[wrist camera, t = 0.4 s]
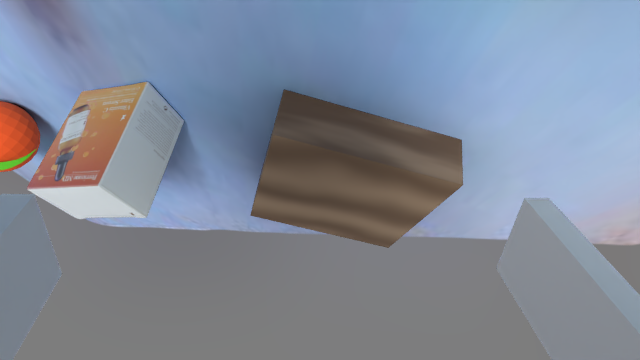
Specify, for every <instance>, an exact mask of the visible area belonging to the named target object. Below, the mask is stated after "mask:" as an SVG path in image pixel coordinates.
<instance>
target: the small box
mask: <svg viewBox="0 0 640 360" xmlns="http://www.w3.org/2000/svg"><path fill="white" fill-rule="evenodd" d="M183 123H184V120H183V119H182V118H181V117H180V116H179V115H178V113H177V112H176V111H175V110H174V109H173V108H172V107H171V106H170V105H169V104H168V103H167V102H166V100H165V99H164V98H163V97H162V96H161V95H160V94H159V93H158V92H157V91H156V90H155V89H154V88H153V86H152V85H151V84H150V83H149V82H143V83H138V84H133V85H126V86H119V87H112V88H105V89H97V90H87V91H83V92H81V94H80V96H79V97H78V99H77V101H76V103H75V105H74V106H73V108H72V110H71V111H70V113H69V115H68V117H67V118H66V120H65V122H64V124H63V125H62V127H61V129H60V131H59V132H58V134H57V136H56V138H55V140H54V141H53V143H52V145H51V146H50V148H49V150H48V152H47V153H46V155H45V157H44V159H43V160H42V162H41V164H40V166H39V167H38V169H37V171H36V173H35V174H34V176H33V178H32V180H31V181H30V183H29V185H28V187H27V189H28V190H29V191H31V192H32V193H34V194H35V195H37V196H39V197H41V198H43V199H44V200H46V201H48V202H49V203H51V204H53V205H55V206H56V207H58V208H60V209H61V210H63V211H65V212H67V213H68V214H70V215H72V216H73V217H75V218H77V219H85V218H103V217H137V218H146V217H147V215H148V213H149V210H150V208H151V205H152V203H153V200H154V198H155V195H156V192H157V190H158V187H159V185H160V182H161V180H162V177H163V175H164V172H165V169H166V167H167V164H168V162H169V159H170V157H171V154H172V152H173V149H174V146H175V144H176V141H177V139H178V136H179V133H180V131H181V128H182V126H183Z"/></svg>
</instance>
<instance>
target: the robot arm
mask: <svg viewBox="0 0 640 360" xmlns="http://www.w3.org/2000/svg"><path fill="white" fill-rule="evenodd" d="M496 269H497V270H498V272H499V274H500V275H501V277H502V279H503V280H504V282H505V284H506V285H507V287H508V289H509V290H510V292H511V294H512V295H513V297H514V299H515V300H516V302H517V303H518V305H519V307H520V308H521V310H522V312H523V313H524V315H525V317H526V318H527V320H528V321H529V323H530V325H531V326H532V328H533V330H534V331H535V333H536V335H537V336H538V338H539V340H540V341H541V343H542V345H543V346H544V348H545V349H546V351H547V353H548V355H549V356H550V357H551V359H552V360H640V295H639V294H638V293H637V292H636V291H635V290H634V289H633V288H632V287H631V285H630V284H629V283H628V282H627V281H626V280H625V279H624V278H623V277H622V276H621V275H620V274H619V273H618V272H617V270H616V269H615V268H614V267H613V266H612V265H611V264H610V263H609V262H608V261H607V260H606V259H605V258H604V257H603V256H602V254H601V253H600V252H599V251H598V250H597V249H596V248H595V247H594V246H593V245H592V244H591V243H590V242H589V240H588V239H587V238H586V237H585V236H584V235H583V234H582V233H581V232H580V231H579V230H578V229H577V228H576V226H575V225H574V224H573V223H572V222H571V221H570V220H569V219H568V218H567V217H566V216H565V215H564V214H563V213H562V211H561V210H560V209H559V208H558V207H557V206H556V205H555V204H554V203H553V202H552V201H551V200H550V199H549V198H524V201H523V203H522V206H521V208H520V211H519V213H518V215H517V218H516V220H515V223H514V225H513V228H512V230H511V233H510V235H509V238H508V240H507V243H506V245H505V248H504V250H503V253H502V255H501V258H500V260H499V262H498V265H497V267H496ZM61 275H62V272H61V269H60V267H59V263H58V260H57V257H56V254H55V252H54V249H53V246H52V243H51V240H50V237H49V235H48V232H47V229H46V226H45V223H44V220H43V217H42V215H41V212H40V209H39V206H38V203H37V201H36V197H35V194H1V195H0V360H13V358H14V357H15V355H16V353H17V351H18V349H19V348H20V346H21V344H22V343H23V341H24V339H25V338H26V336H27V334H28V332H29V331H30V329H31V327H32V325H33V324H34V322H35V320H36V318H37V317H38V315H39V313H40V311H41V310H42V308H43V306H44V304H45V303H46V301H47V299H48V297H49V296H50V294H51V292H52V290H53V288H54V287H55V285H56V283H57V282H58V280H59V278H60V276H61Z"/></svg>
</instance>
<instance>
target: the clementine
mask: <svg viewBox="0 0 640 360" xmlns="http://www.w3.org/2000/svg"><path fill="white" fill-rule="evenodd" d="M39 145H40V132H39V129H38V126H37V124H36V122H35V121H34V120H33V118H32V117H31V116H30V115H29V114H28V113H27V112H26V111H25V110H23V109H22V108H20V107H18V106H16V105H14V104H11V103H8V102H3V101H0V172H5V171H11V170H14V169H17V168H20V167H22V166H23V165H25V164H26V163H28V162H29V161H30V160H31V159H32V158H33V157H34V156H35V154H36V153H37V150H38V148H39Z"/></svg>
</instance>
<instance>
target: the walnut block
mask: <svg viewBox="0 0 640 360" xmlns="http://www.w3.org/2000/svg"><path fill="white" fill-rule="evenodd" d="M462 185H463V168H462V140H460V139H457V138H453V137H450V136H446V135H443V134H439V133H436V132H432V131H429V130H425V129H422V128H418V127H415V126H411V125H408V124H404V123H401V122H397V121H394V120H390V119H386V118H383V117H379V116H376V115H372V114H369V113H365V112H362V111H358V110H355V109H351V108H348V107H344V106H341V105H337V104H334V103H330V102H327V101H323V100H320V99H316V98H313V97H309V96H306V95H302V94H298V93H295V92H291V91H288V90H284V91H283V94H282V98H281V102H280V105H279V109H278V113H277V116H276V120H275V124H274V128H273V131H272V135H271V139H270V142H269V146H268V150H267V153H266V157H265V161H264V164H263V168H262V172H261V175H260V179H259V183H258V187H257V191H256V195H255V199H254V203H253V207H252V211H251V216H255V217H259V218H264V219H268V220H272V221H276V222H281V223H285V224H289V225H293V226H298V227H302V228H306V229H310V230H315V231H319V232H323V233H328V234H332V235H336V236H340V237H345V238H349V239H353V240H358V241H362V242H366V243H370V244H374V245H379V246H383V247H387V248H389V247H390V246H391V245H392V244H393V243H394V242H396V241H397V240H398V239H399V238H401V237H402V236H403V235H404V234H405V233H406V232H408V231H409V230H410V229H411V228H412V227H414V226H415V225H416V224H417V223H418V222H420V221H421V220H422V219H423V218H424V217H426V216H427V215H428V214H429V213H430V212H431V211H433V210H434V209H435V208H436V207H437V206H439V205H440V204H441V203H442V202H443V201H445V200H446V199H447V198H448V197H449V196H451V195H452V194H453V193H454V192H455V191H456V190H458V189H459V188H460V187H461V186H462Z"/></svg>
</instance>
